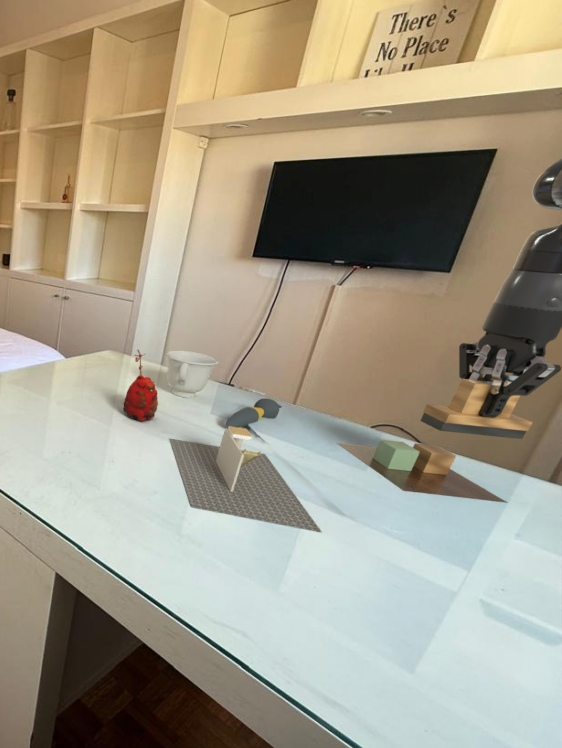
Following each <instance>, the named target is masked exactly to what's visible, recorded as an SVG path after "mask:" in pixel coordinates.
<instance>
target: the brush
mask: <svg viewBox="0 0 562 748" xmlns="http://www.w3.org/2000/svg"><path fill="white" fill-rule="evenodd" d="M459 381H460V382H459V383H458V385H457V388H456V390H455V392H454V395H453V396H452V399H451V401H450V402H449V405H442V404H440V405H439V404H428V403H426V405H425V406H424V409H423V410H422V413H423V414H422V416H421V418H420V422H422V423H423V424H426V425H428V426H430V427H432V428H433V429H436V430H437V431H440V432H449V433H456V434H457V433H458V434H467V435H475V436H476V435H479V436H486V437H487V436H488V437H497V438H506V439H507V438H508V439H517V440H523V438H524V437H525V435H526V433H527V432H529V431H530V428H531V427H532V425H533V424H534V423H533V421H531V420H527V419H525V418H523V417H520V416H518V415H515V414H513V412H514V409H515V407H516V405H517V403H518V401H519V399H520V398H521V396H511V397H510V398H509V399H508V401H507V403H506V405H505V407H504V409H503V411H502V413H501V414H500V415H499V416H497V417H495V418H491V417H483V416H481V415H479V411H480V409H481V407H482V405H483V403H484V401H485V399H486V397H487V395H488V393H491V392H490V389H491V386H492V384H493V382H490V381H480V380H469V379H461V378H460V380H459ZM506 384H507V382H505V383H504V386H503V387H506Z"/></svg>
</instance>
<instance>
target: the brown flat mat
mask: <svg viewBox="0 0 562 748" xmlns="http://www.w3.org/2000/svg"><path fill="white" fill-rule="evenodd" d="M336 444H337V445H338V446H340V447H341V448H343V449H344V450H345V451H347V452H348V453H349V454H351V455H352V456H354V457H355V458H356V459H358V460H359V461H361V462H362V463H364V464H365V465H366V466H368V467H369V468H370V469H372V470H373V471H374V472H376V473H378V474H379V475H381V476H382V477H383V478H385V479H386V480H387V481H388V482H390V483H392V484H393V485H394V486H395V487H396V488H399V489H400V490H401V491H403V492H409V493H420V494H428V495H436V496H444V497H445V496H446V497H454V498H463V499H473V500H480V501H491V502H499V503H507V504H508V503H509V502H508V501H506V500H504V499H503V498H501V497H499V496H497V495H496V494H494V493H492V492H490V491H489V490H487V489H485V488H484V487H482V486H480V485H479V484H477V483H475V482H473V481H471V480H470V479H468V478H467V477H465V476H463V475H461V474H459V473H458V472H457V471H454V470H453V469H451V468H450V469H449V471H448V473H447V475H441V474H432V473H423V472H422V471H420V470H418V469H417V468H415V467H414V466H413V468H412V470H411V471H405V470H396V469H388V468H386V467H385V466H383V465H382V464H380V463H379V462H377V461H376V460H374V459H373V456H374V454H375V451H376V449H377V446H371V445H361V444H351V443H342V442H336Z"/></svg>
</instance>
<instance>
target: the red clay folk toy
mask: <svg viewBox="0 0 562 748" xmlns="http://www.w3.org/2000/svg"><path fill="white" fill-rule="evenodd" d="M136 352H137V353H138V355H137V354H134V355H133V356H134V357H135V359H134V362H136V363H139V366H138V370H139V375H137V376H136V378H135V380H134V381H133V382H132V383H131V384H130V385H129V387H128V389H127V391H126V394H125V398H124V399H123V408H122V410H123V412H124V413H125V415H126V416H127V417H128V418H130V419H132V420H136V421H138V422H146V421H151V420H153V418H155V416H156V414H155V413H156V412H157V410H158V406H159V402H158V390H157V389H156V383H155V381H152V378H151V377H150V376H144V375H143V374H142V369H143V367H144V365H142V357H143V356H146V353H143V354H141V352H140V350H139V349H137V350H136Z"/></svg>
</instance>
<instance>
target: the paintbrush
mask: <svg viewBox="0 0 562 748" xmlns="http://www.w3.org/2000/svg"><path fill="white" fill-rule="evenodd" d="M282 407H283V406H282V405H280V404H278V402H277V401H276V400H273V399H271V398H268V397H267V398H266V397H265V398H264V397H263V398H260V399H258V400H257V401H256V402H255V403H254V405H253V406H250V407H249V406H248V407H245V408H242V409H240V410H238V411H236V412H235V413H233V414H232V415H230V416H229V417H228V418H227V419H226V421H225V427H226V428H228V427H229V426H231V427H238V428H244V427H248V426H249V425H251V424H254V423H257V422H259V420H260V419H261V418H265V419H275V418H277V416H278V415H279V413H280V409H281V408H282Z"/></svg>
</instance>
